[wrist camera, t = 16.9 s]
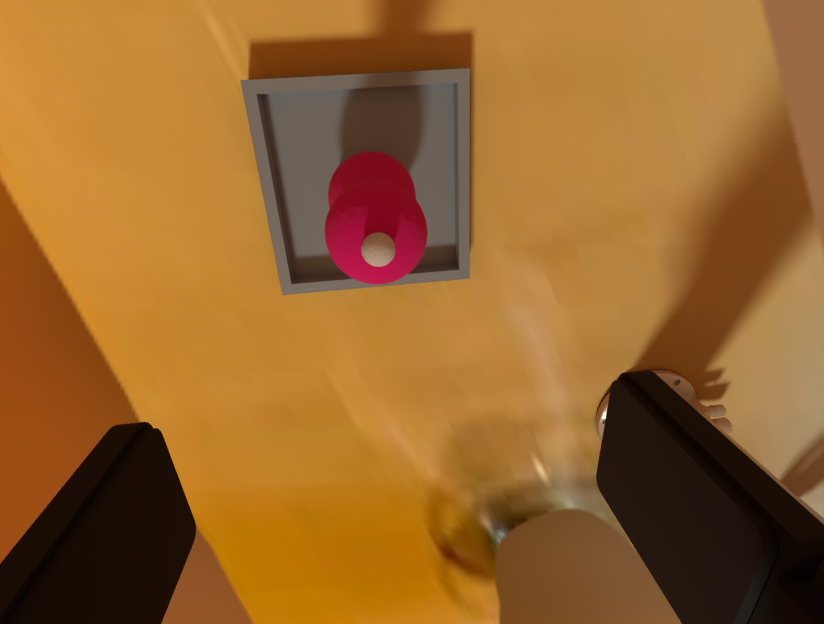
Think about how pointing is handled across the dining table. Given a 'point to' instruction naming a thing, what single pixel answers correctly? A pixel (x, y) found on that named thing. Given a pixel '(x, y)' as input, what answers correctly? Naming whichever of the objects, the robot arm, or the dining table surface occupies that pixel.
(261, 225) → the dining table surface
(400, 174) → the pepper mill
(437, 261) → the tray
